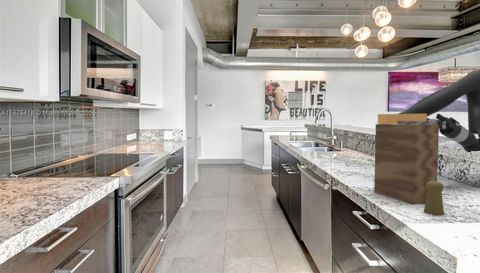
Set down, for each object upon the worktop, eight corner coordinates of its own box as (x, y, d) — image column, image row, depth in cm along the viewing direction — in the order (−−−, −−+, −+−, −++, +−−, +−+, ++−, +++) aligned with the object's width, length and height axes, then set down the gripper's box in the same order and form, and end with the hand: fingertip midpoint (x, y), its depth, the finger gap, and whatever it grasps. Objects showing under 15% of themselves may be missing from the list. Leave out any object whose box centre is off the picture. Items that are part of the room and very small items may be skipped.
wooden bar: (385, 123, 127) (386, 114, 126) (377, 123, 131) (377, 114, 130) (426, 123, 134) (426, 113, 133) (417, 122, 138) (417, 113, 137)
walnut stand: (412, 204, 118) (415, 121, 115) (374, 192, 137) (375, 120, 134) (436, 201, 121) (439, 120, 119) (395, 189, 140) (397, 120, 138)
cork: (441, 210, 110) (442, 180, 109) (446, 216, 104) (447, 183, 103) (421, 209, 112) (422, 179, 111) (425, 214, 106) (427, 182, 105)
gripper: (442, 124, 149) (418, 109, 145) (472, 123, 135) (446, 107, 131) (437, 138, 148) (412, 124, 144) (466, 139, 135) (440, 123, 130)
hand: (428, 116), depth 138 cm, fingers open, 8 cm apart
